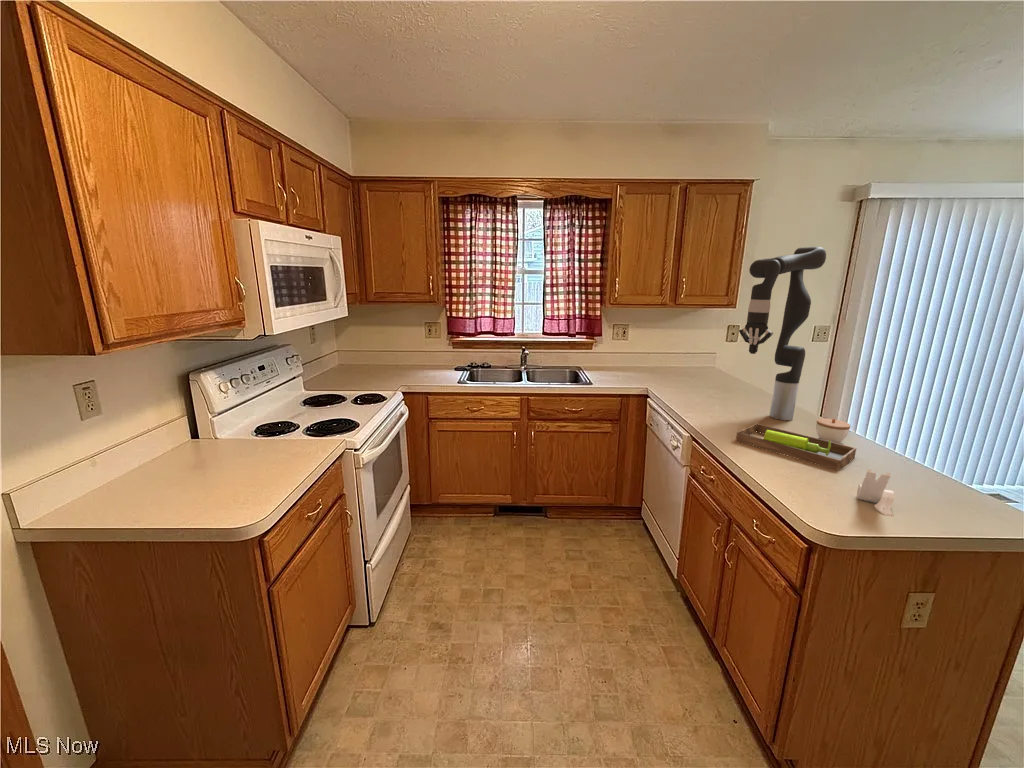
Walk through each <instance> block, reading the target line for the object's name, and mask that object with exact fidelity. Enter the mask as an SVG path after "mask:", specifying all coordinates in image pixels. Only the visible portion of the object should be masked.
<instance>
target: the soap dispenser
mask: <svg viewBox="0 0 1024 768" xmlns="http://www.w3.org/2000/svg"><path fill="white" fill-rule="evenodd" d="M763 435H764V437H763V439H765V440H768V441H772V442H776V443H779V444H783V445H787V446H791V447H794V448H798V449H802V450H805V451H809V452H813V453H816V454H817V453H818V452H822V453H826V455H827V456H828V455H829V452H830V449H831V441H830V440H829V444H828V448H827V449H826V448H821V447H820V446H819V444H814V443H810V442H809V440H808V438H803V437H799V436H794V435H790V434H785V433H781V432H776V431H772V430H767V431H766V432H765V434H763Z"/></svg>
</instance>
